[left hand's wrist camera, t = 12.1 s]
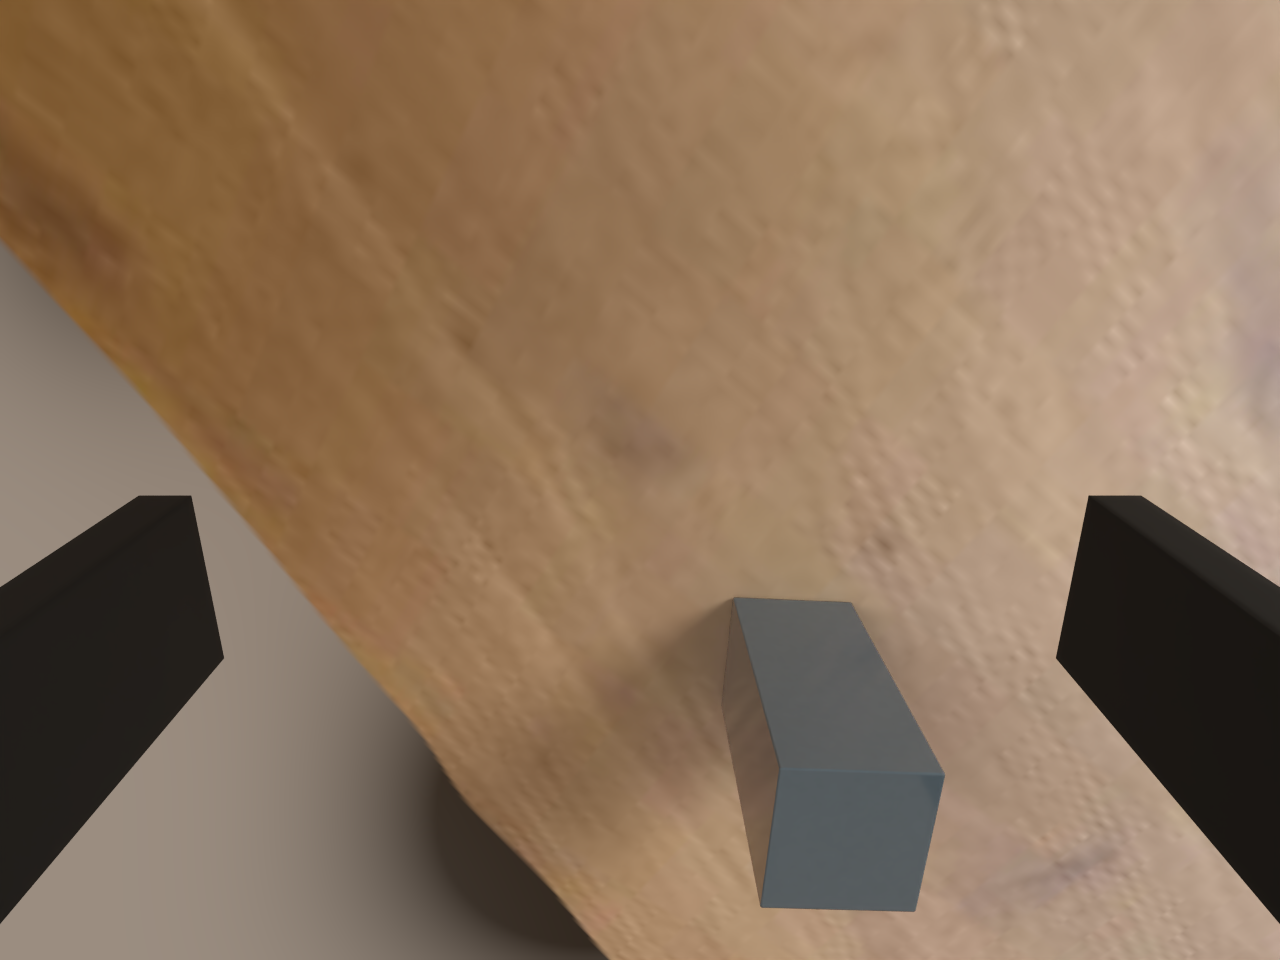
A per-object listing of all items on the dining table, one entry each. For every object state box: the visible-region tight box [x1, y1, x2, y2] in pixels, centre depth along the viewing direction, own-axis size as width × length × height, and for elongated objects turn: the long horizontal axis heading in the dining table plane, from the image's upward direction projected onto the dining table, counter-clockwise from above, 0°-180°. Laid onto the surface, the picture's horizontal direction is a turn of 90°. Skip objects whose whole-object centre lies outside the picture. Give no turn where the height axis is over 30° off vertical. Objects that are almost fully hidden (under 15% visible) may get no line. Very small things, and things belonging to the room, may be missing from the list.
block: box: [722, 598, 945, 912], centre depth 29 cm, size 5×5×10 cm
